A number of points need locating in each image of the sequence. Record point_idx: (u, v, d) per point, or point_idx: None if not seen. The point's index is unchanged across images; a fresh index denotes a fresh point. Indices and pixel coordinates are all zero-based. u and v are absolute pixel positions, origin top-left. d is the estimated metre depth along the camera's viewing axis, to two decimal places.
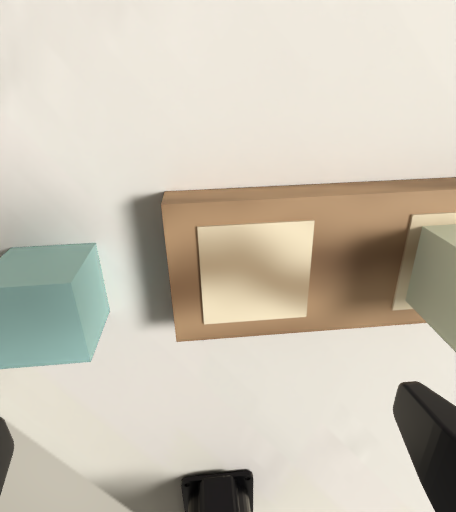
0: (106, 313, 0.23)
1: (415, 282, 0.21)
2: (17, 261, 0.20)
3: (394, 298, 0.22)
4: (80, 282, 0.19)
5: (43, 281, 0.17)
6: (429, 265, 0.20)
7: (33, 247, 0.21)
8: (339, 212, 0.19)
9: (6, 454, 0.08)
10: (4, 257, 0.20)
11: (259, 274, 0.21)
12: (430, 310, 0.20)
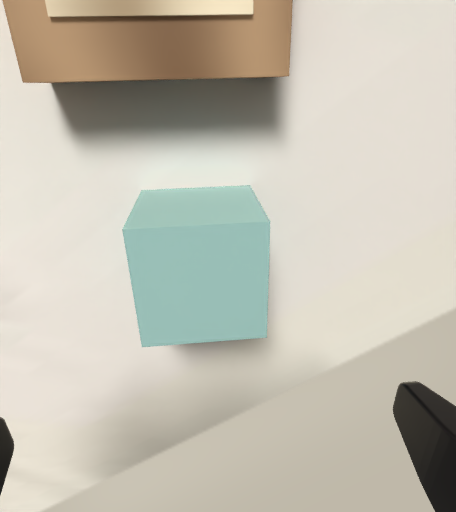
0: (246, 189, 0.16)
1: None
2: None
3: None
4: (144, 217, 0.13)
5: (130, 263, 0.13)
6: None
7: None
8: None
9: (6, 454, 0.08)
10: None
11: None
12: None
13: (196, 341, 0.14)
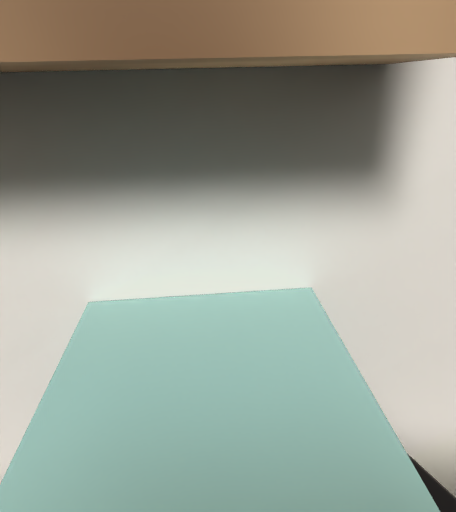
0: (310, 308, 0.07)
1: None
2: None
3: None
4: (52, 474, 0.04)
5: None
6: None
7: None
8: None
9: None
10: None
11: None
12: None
13: None
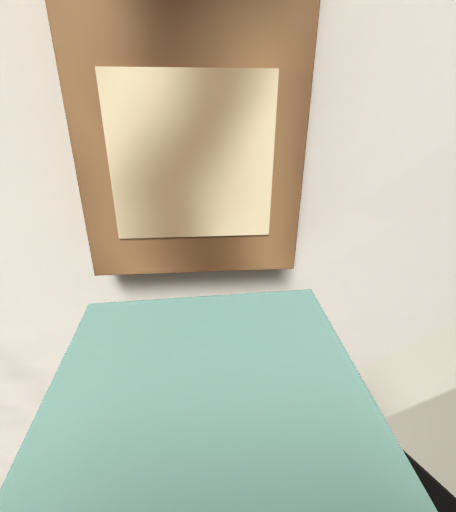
0: (310, 309, 0.07)
1: None
2: None
3: None
4: (53, 475, 0.04)
5: None
6: None
7: None
8: (78, 17, 0.12)
9: None
10: None
11: (190, 155, 0.14)
12: None
13: None
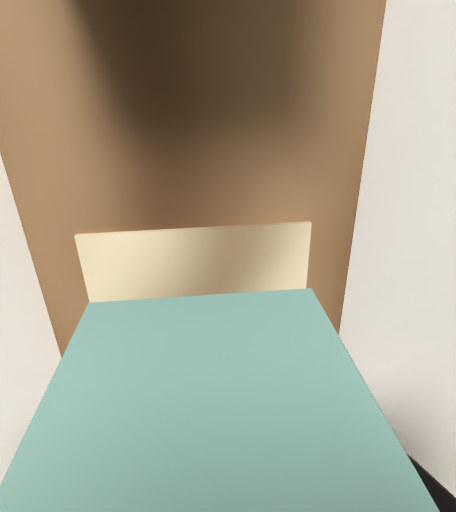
0: (310, 308, 0.07)
1: None
2: None
3: None
4: (52, 474, 0.04)
5: None
6: None
7: None
8: (49, 182, 0.09)
9: None
10: None
11: None
12: None
13: None
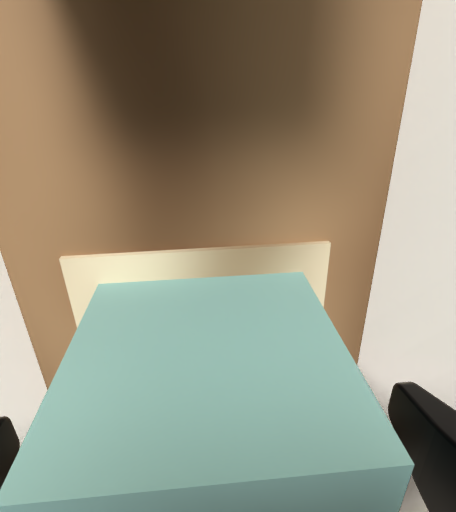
0: (301, 289, 0.08)
1: None
2: None
3: None
4: (74, 419, 0.05)
5: None
6: None
7: None
8: (29, 197, 0.08)
9: (12, 454, 0.08)
10: None
11: None
12: None
13: None
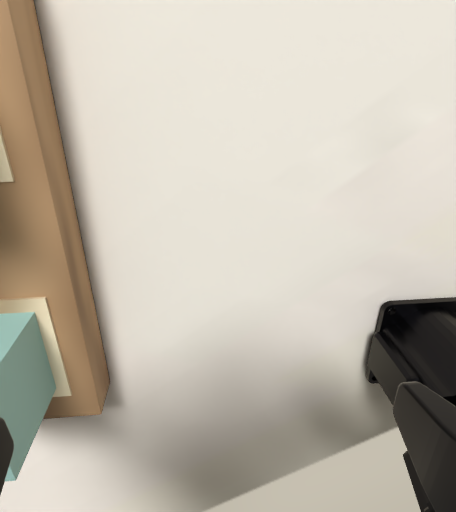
0: (21, 322, 0.16)
1: None
2: None
3: None
4: None
5: None
6: None
7: None
8: None
9: (6, 454, 0.08)
10: None
11: None
12: None
13: None
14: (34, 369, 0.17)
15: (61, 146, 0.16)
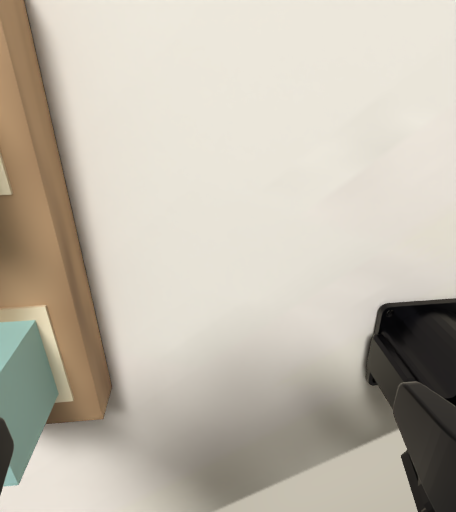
0: (22, 330, 0.17)
1: None
2: None
3: None
4: None
5: None
6: None
7: None
8: None
9: (6, 454, 0.08)
10: None
11: None
12: None
13: None
14: (36, 376, 0.17)
15: (58, 158, 0.17)
